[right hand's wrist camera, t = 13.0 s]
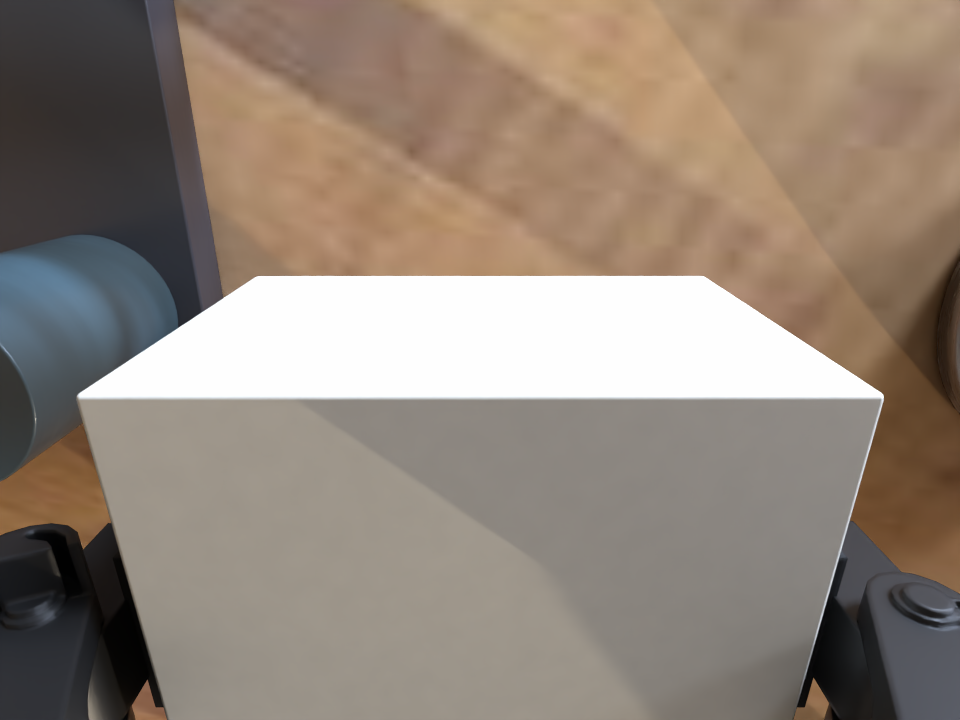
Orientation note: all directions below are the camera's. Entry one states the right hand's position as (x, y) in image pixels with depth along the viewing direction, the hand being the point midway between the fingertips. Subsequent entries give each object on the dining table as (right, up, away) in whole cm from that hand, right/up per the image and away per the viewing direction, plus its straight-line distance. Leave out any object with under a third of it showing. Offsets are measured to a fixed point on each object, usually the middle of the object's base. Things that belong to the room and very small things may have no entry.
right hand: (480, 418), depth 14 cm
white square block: (0, -1, -2) cm, 2 cm away
